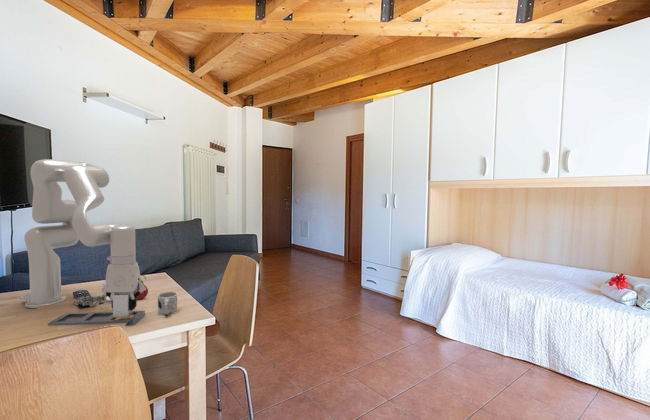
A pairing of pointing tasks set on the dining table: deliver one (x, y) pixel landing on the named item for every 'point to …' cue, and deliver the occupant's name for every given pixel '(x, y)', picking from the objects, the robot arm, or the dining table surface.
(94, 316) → the rail
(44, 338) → the dining table surface
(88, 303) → the egg carton
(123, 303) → the block
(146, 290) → the onion
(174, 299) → the mug
